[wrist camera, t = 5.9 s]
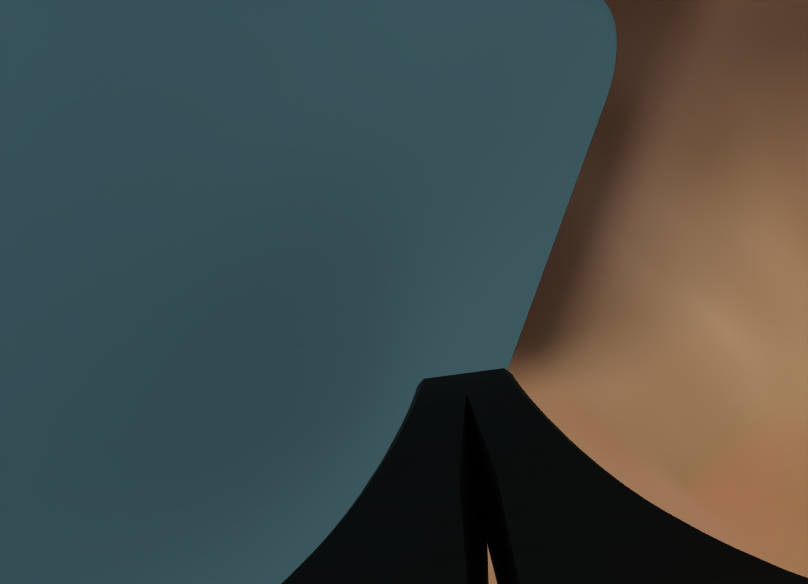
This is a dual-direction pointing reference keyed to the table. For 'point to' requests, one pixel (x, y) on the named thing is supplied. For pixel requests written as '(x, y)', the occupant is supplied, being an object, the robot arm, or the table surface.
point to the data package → (259, 257)
